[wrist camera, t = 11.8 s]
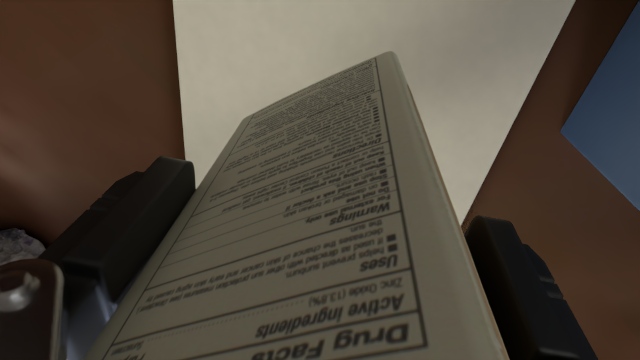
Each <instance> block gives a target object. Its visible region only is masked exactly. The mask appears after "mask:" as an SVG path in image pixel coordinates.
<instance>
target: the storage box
mask: <svg viewBox="0 0 640 360" xmlns="http://www.w3.org/2000/svg"><path fill="white" fill-rule="evenodd" d="M560 133H561V134H562V135H564V136H565V137H566V138H567V139H568V140H569V141H570V142H571V143H572V144H573V145H574V146H575V147H576V148H577V149H578V150H579V151H580V152H581V153H582V154H583V155H584V156H585V157H586V158H587V159H588V160H589V161H590V162H591V163H592V164H593V165H594V166H595V167H596V168H597V169H598V170H599V171H600V172H601V173H602V174H603V175H604V176H605V177H606V178H607V179H608V180H609V181H610V182H611V183H612V184H613V185H614V186H615V187H616V188H617V189H618V190H619V191H620V192H621V193H622V194H623V195H624V196H625V197H626V198H627V199H628V200H629V201H630V202H631V203H632V204H633V205H634V206H635V207H636V208H637V209H638V210H639V211H640V0H639V1H638V3H637V5H636V6H635V8H634V10H633V11H632V13H631V15H630V16H629V18H628V20H627V21H626V23H625V25H624V26H623V28H622V30H621V31H620V33H619V35H618V36H617V38H616V40H615V41H614V43H613V45H612V46H611V48H610V49H609V51H608V53H607V54H606V56H605V58H604V59H603V61H602V63H601V64H600V66H599V68H598V69H597V71H596V73H595V74H594V76H593V78H592V79H591V81H590V83H589V84H588V86H587V88H586V89H585V91H584V93H583V94H582V96H581V98H580V99H579V101H578V103H577V104H576V106H575V108H574V109H573V111H572V113H571V114H570V116H569V117H568V119H567V121H566V122H565V124H564V126H563V127H562V129H561V131H560Z"/></svg>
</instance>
